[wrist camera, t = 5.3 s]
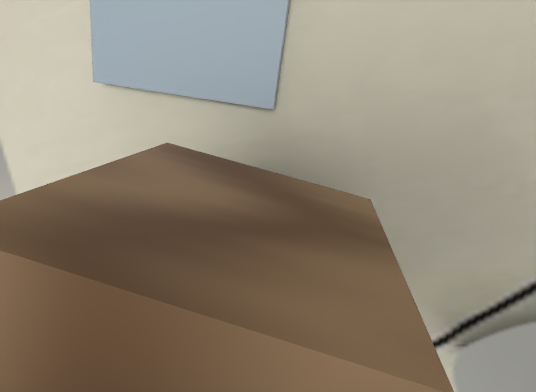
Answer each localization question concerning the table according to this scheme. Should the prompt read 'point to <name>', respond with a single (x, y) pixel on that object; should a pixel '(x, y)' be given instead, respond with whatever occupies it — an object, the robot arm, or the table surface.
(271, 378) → the long brick
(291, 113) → the table surface
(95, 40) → the base board
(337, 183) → the table surface
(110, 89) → the table surface
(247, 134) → the table surface
